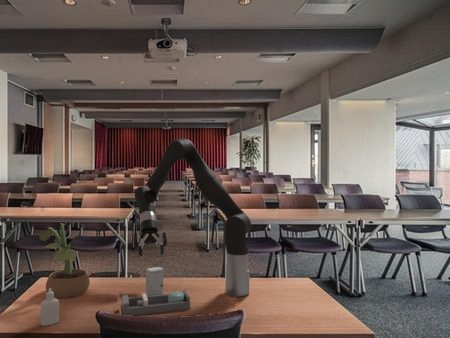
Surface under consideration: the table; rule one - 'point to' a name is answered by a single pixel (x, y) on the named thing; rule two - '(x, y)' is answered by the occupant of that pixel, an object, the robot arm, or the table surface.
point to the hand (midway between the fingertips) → (151, 255)
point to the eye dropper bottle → (49, 309)
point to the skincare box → (154, 281)
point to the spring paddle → (143, 300)
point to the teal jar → (175, 297)
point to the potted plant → (65, 269)
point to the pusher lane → (153, 304)
